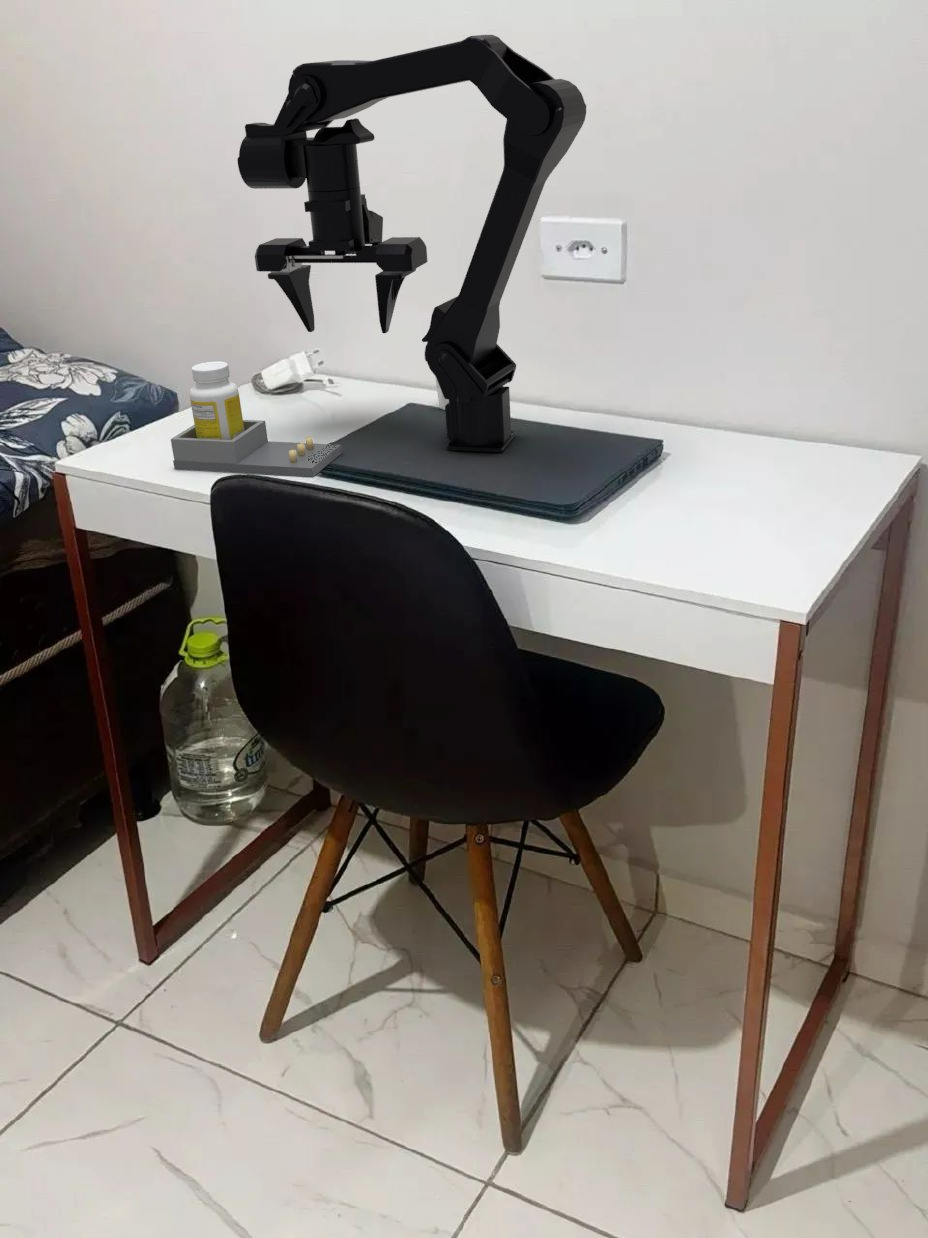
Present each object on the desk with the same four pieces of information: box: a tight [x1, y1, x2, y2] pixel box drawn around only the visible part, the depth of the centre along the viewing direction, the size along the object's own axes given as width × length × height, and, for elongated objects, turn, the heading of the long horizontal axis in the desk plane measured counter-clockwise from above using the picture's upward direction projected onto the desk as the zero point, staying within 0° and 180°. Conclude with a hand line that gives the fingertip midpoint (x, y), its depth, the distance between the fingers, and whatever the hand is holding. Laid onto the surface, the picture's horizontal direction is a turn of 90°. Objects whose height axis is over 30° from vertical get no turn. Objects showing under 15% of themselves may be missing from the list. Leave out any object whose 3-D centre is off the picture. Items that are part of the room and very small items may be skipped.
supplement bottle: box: [189, 361, 245, 440], centre depth 132 cm, size 5×5×10 cm
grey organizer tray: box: [170, 419, 343, 478], centre depth 133 cm, size 17×8×4 cm, turn 73°
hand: (348, 331), depth 136 cm, fingers open, 9 cm apart
